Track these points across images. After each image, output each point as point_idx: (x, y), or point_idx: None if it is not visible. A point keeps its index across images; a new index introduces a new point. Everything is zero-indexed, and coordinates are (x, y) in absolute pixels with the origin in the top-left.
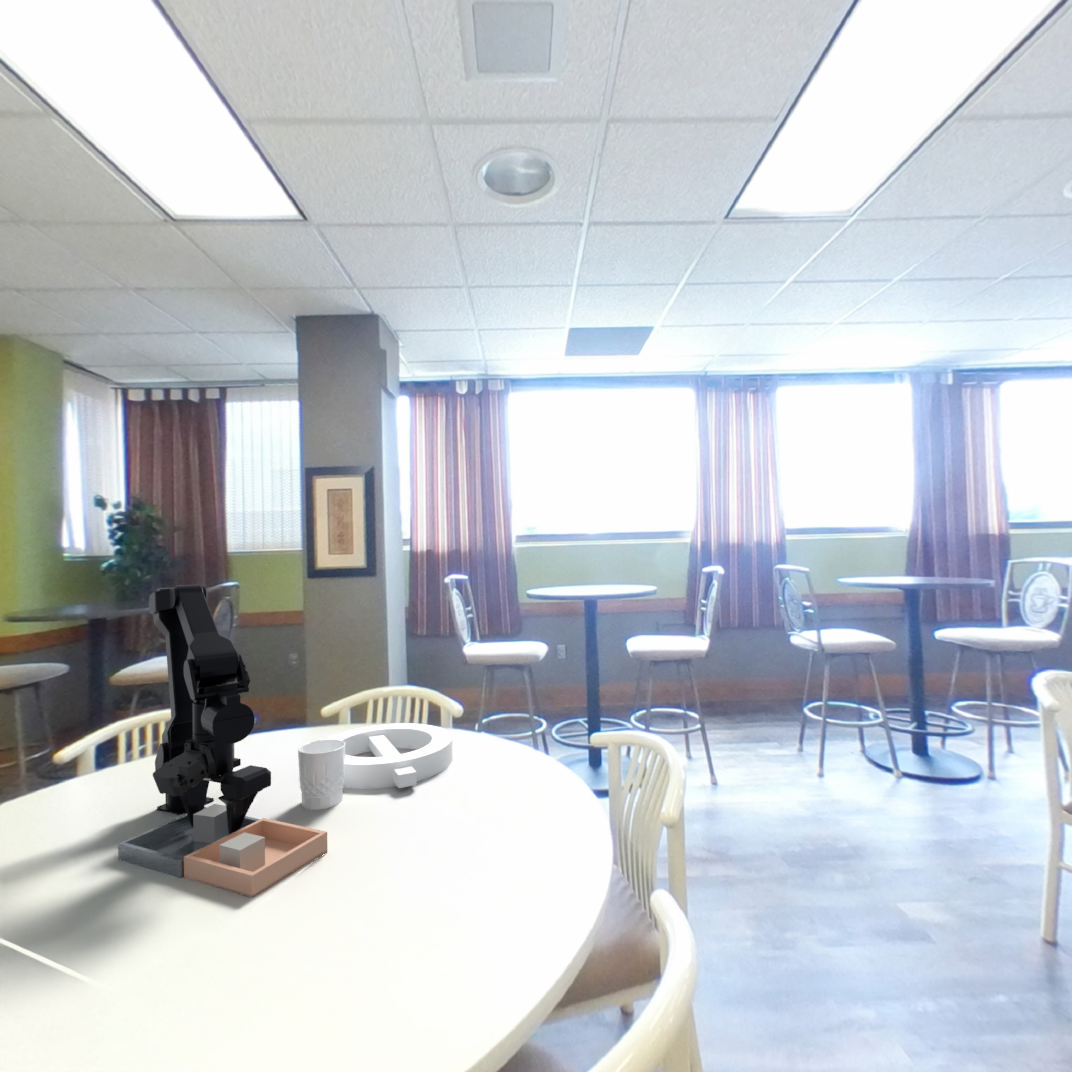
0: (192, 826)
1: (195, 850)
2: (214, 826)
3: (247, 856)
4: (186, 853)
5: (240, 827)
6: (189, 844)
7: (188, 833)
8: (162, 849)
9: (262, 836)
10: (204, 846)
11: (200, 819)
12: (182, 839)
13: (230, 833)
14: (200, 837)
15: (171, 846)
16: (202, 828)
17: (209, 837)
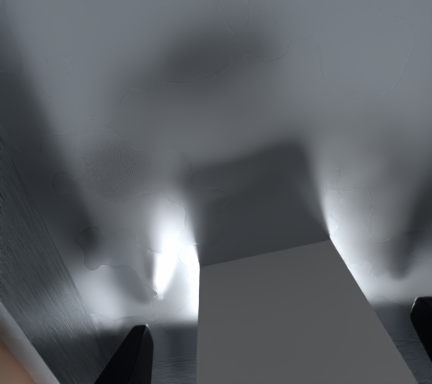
0: (428, 300)
1: (215, 194)
2: (197, 350)
3: None
4: (229, 152)
5: None
6: (316, 213)
7: (426, 264)
8: (427, 108)
9: None
10: (216, 235)
11: (325, 367)
12: (405, 224)
13: (127, 340)
14: (289, 265)
15: (400, 156)
16: (290, 311)
17: (232, 283)
